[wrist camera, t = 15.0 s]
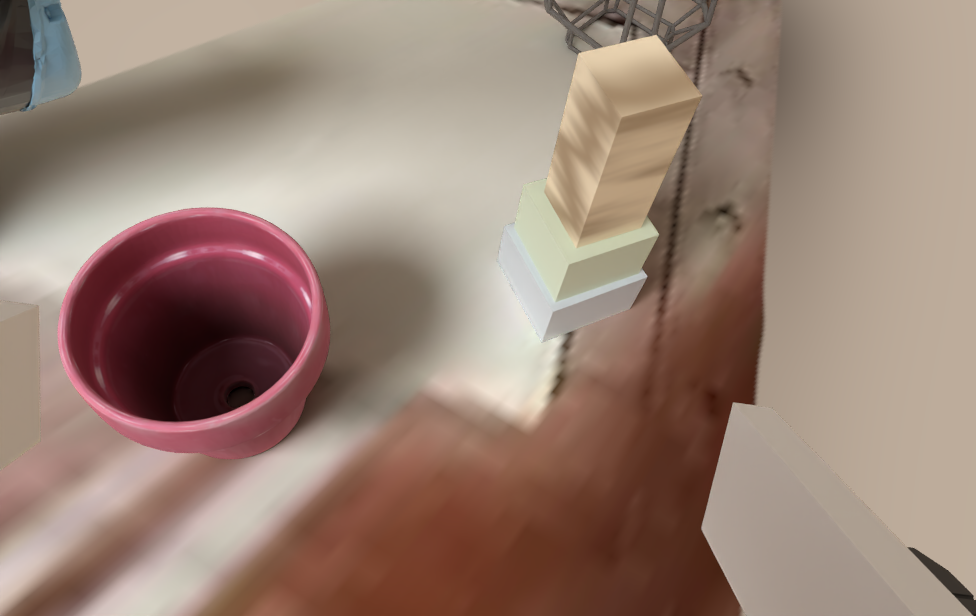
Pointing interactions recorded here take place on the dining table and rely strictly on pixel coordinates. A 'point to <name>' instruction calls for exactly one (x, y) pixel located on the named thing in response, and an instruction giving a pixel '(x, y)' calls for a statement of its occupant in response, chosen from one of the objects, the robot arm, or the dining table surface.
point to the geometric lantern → (573, 30)
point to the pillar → (618, 137)
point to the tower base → (565, 313)
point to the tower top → (576, 266)
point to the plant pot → (196, 332)
